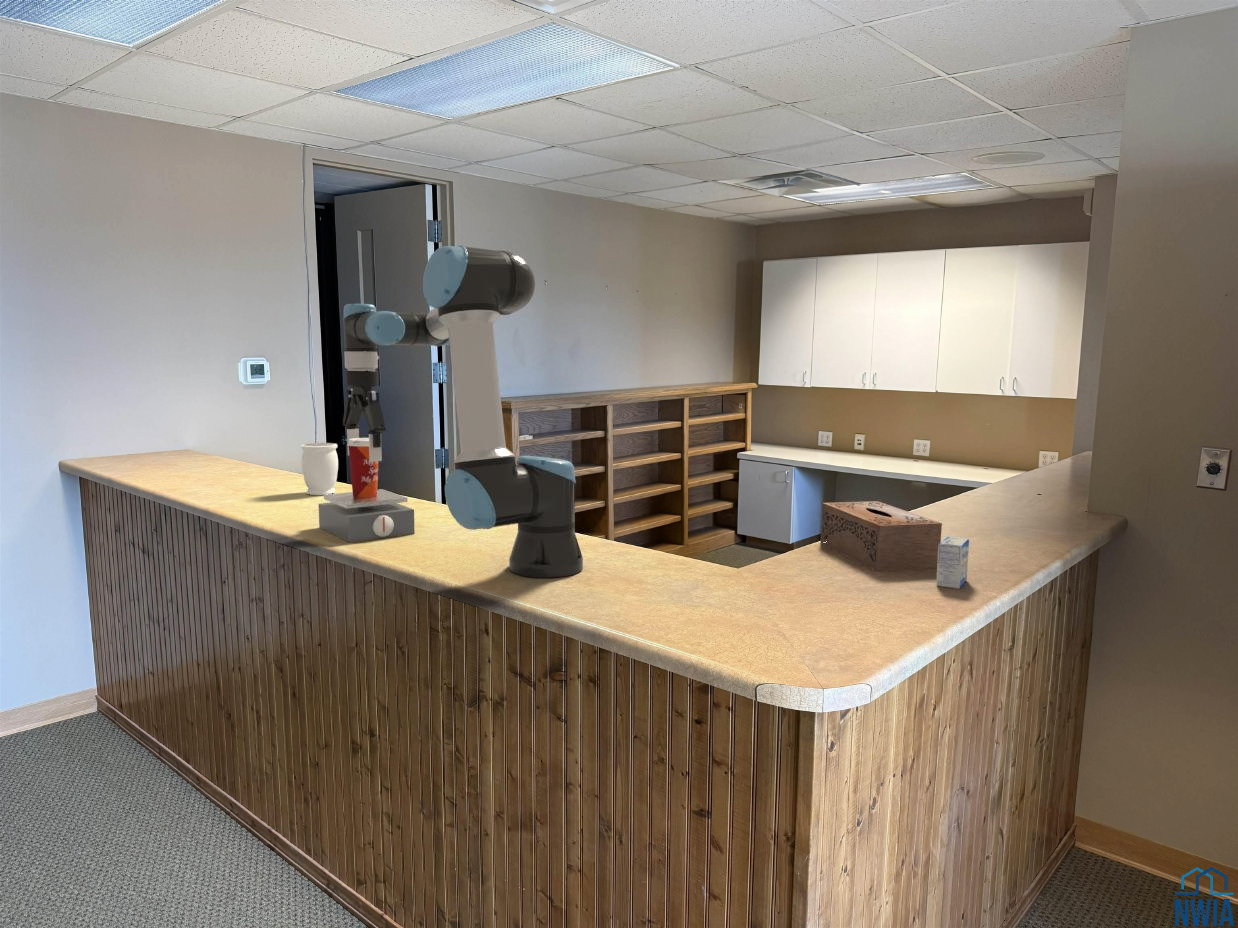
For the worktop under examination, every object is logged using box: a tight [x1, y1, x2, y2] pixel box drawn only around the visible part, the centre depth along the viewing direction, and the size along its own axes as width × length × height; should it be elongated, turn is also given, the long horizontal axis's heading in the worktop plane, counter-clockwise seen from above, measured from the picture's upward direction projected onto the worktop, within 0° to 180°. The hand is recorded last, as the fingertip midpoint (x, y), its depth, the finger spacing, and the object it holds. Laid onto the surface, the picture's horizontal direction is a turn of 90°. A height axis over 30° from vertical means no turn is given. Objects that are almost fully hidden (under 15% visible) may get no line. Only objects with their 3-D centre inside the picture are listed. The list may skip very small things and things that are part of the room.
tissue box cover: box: [820, 500, 943, 572], centre depth 188 cm, size 26×14×10 cm, turn 13°
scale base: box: [318, 501, 416, 544], centre depth 205 cm, size 21×16×6 cm
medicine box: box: [935, 536, 970, 590], centre depth 166 cm, size 8×4×9 cm, turn 148°
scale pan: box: [323, 488, 409, 509], centre depth 204 cm, size 15×15×2 cm
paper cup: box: [346, 437, 379, 498], centre depth 203 cm, size 8×8×14 cm
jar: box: [300, 442, 339, 496], centre depth 254 cm, size 11×10×15 cm
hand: (364, 458), depth 203 cm, fingers open, 13 cm apart
